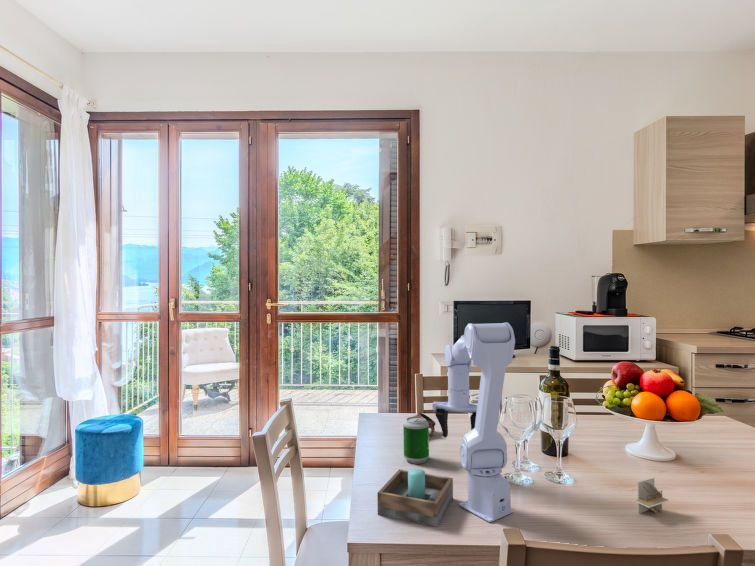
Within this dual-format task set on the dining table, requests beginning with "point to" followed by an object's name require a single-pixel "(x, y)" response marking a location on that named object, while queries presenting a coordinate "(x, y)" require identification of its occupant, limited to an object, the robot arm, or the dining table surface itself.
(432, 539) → the dining table surface
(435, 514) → the socket box
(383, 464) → the dining table surface
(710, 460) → the dining table surface
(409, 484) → the peg
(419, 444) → the soda can
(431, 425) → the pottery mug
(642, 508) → the architectural model
